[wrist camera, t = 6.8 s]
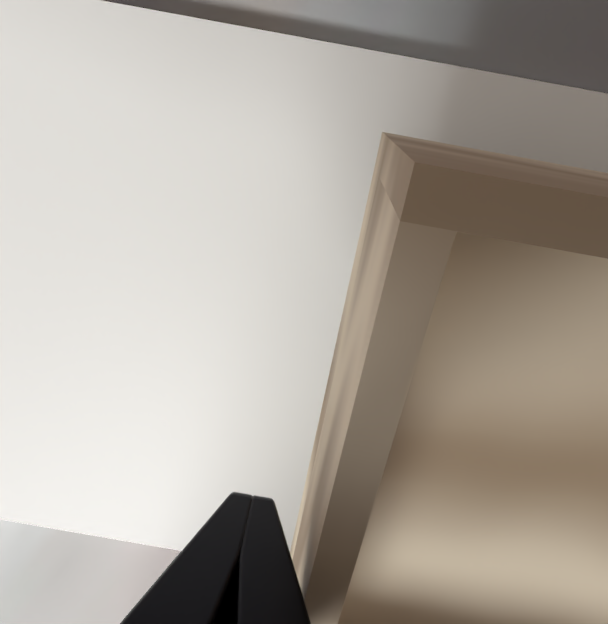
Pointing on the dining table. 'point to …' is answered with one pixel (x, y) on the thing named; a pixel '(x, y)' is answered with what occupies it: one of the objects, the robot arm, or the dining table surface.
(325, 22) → the dining table surface
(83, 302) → the track board
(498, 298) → the beige open tray
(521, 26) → the dining table surface
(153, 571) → the dining table surface
